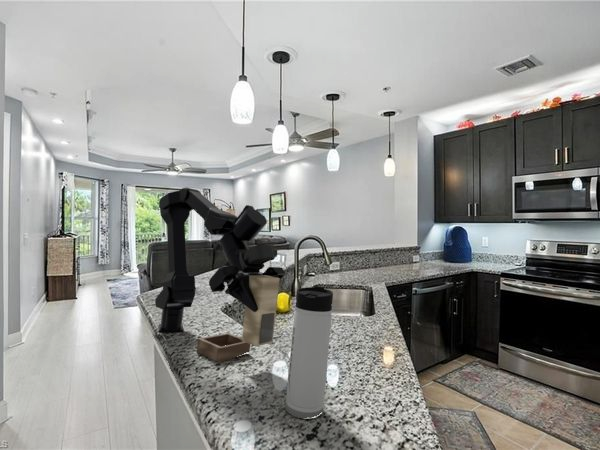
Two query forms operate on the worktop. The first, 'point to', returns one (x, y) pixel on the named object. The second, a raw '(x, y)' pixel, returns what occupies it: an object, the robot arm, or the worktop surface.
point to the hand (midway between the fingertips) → (265, 309)
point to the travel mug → (309, 352)
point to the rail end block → (261, 311)
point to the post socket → (222, 347)
